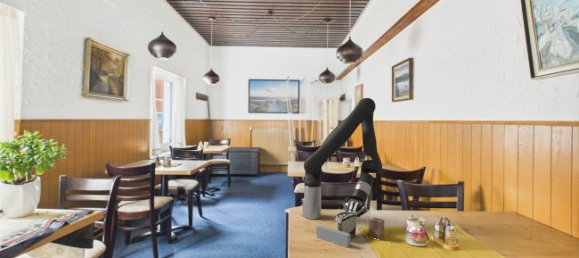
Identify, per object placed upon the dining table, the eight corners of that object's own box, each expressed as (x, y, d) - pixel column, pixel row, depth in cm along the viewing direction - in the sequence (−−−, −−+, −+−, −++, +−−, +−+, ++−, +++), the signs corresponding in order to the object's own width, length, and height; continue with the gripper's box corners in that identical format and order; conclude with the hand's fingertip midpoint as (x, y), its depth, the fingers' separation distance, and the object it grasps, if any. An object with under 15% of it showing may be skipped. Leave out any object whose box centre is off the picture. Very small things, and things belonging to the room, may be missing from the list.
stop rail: (316, 237, 134) (316, 226, 134) (319, 235, 136) (319, 225, 136) (347, 247, 124) (347, 235, 123) (350, 245, 125) (350, 234, 125)
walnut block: (368, 237, 135) (369, 219, 134) (374, 234, 138) (374, 217, 138) (379, 240, 131) (379, 222, 131) (384, 237, 135) (384, 219, 135)
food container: (346, 230, 143) (346, 209, 142) (357, 233, 138) (357, 212, 138) (330, 237, 134) (329, 215, 134) (341, 241, 130) (340, 219, 129)
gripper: (346, 186, 150) (333, 216, 141) (370, 190, 141) (358, 222, 132) (351, 194, 154) (339, 224, 145) (375, 199, 145) (363, 230, 136)
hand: (348, 223), depth 139 cm, fingers closed
